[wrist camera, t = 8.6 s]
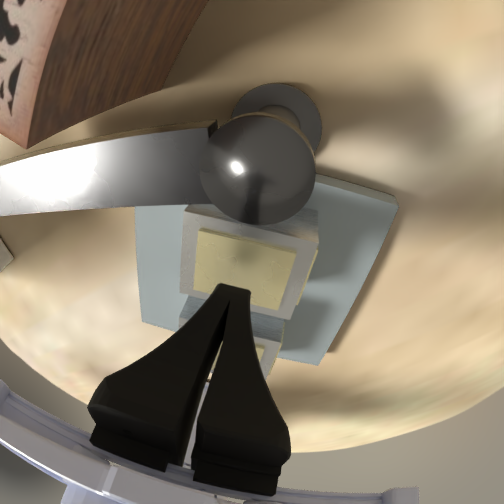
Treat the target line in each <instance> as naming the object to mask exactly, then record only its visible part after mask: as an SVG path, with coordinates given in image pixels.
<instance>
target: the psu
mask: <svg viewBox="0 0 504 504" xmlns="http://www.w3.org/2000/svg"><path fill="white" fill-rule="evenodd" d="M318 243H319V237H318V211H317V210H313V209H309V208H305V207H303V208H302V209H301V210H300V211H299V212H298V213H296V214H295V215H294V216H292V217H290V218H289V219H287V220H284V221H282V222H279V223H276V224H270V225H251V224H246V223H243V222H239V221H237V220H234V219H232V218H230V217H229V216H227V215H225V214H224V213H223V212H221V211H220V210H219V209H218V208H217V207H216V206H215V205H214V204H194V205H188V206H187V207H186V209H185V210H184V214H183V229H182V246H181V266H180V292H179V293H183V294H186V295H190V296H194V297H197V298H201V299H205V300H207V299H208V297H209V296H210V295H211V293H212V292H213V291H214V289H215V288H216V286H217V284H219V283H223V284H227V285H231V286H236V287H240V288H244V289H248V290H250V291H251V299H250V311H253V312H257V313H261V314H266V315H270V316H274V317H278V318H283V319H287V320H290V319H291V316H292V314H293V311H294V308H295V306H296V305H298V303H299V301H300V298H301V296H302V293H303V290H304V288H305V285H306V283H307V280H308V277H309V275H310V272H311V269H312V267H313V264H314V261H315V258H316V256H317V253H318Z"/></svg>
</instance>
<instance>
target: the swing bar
mask: <svg viewBox="0 0 504 504" xmlns="http://www.w3.org/2000/svg"><path fill="white" fill-rule="evenodd" d="M315 177H316V169H315V157H314V153H313V150H312V147H311V145H310V143H309V141H308V139H307V138H306V136H305V135H304V133H303V132H302V131H301V130H300V129H299V128H298V127H297V126H295V125H294V124H293V123H292V122H290V121H288V120H287V119H285V118H283V117H280V116H278V115H275V114H271V113H265V112H252V113H246V114H242V115H239V116H236V117H234V118H232V119H230V120H229V121H227V122H226V123H225V124H223V125H222V126H221V127H220V128H219V129H218V126H217V120H209V121H199V122H189V123H180V124H172V125H164V126H157V127H150V128H144V129H137V130H131V131H125V132H119V133H114V134H109V135H103V136H98V137H93V138H89V139H84V140H79V141H75V142H71V143H66V144H62V145H58V146H54V147H50V148H46V149H42V150H39V151H35V152H31V153H28V154H24V155H21V156H17V157H14V158H11V159H8V160H4V161H1V162H0V216H8V215H19V214H30V213H42V212H54V211H67V210H82V209H98V208H116V207H136V206H161V205H194V204H214V205H215V206H216V207H217V208H218V209H219V210H220V211H221V212H223V213H224V214H225V215H227V216H229V217H230V218H232V219H234V220H237V221H239V222H243V223H246V224H251V225H270V224H276V223H279V222H282V221H284V220H287V219H289V218H290V217H292V216H294V215H295V214H296V213H298V212H299V211H300V210H301V209H302V208H303V207H304V206H305V204H306V203H307V202H308V200H309V198H310V196H311V194H312V192H313V189H314V185H315Z"/></svg>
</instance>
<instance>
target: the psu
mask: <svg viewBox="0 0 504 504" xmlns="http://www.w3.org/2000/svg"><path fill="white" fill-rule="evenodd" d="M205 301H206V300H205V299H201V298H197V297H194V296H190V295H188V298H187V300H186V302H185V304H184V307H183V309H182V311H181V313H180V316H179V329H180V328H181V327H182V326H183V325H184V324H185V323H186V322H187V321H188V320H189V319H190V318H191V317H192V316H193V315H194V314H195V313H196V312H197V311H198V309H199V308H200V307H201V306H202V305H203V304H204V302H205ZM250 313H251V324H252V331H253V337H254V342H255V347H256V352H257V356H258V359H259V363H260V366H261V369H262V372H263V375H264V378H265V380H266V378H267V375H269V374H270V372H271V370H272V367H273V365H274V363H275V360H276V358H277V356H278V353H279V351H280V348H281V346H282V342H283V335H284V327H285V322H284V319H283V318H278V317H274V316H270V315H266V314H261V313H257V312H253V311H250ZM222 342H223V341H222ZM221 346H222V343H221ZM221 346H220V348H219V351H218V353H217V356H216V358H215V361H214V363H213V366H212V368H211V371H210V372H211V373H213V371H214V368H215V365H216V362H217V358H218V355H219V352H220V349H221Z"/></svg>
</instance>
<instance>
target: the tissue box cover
mask: <svg viewBox="0 0 504 504" xmlns="http://www.w3.org/2000/svg"><path fill="white" fill-rule="evenodd" d="M207 2H208V0H0V133H1V134H2V135H4V136H5V137H7V138H9V139H10V140H12V141H13V142H15V143H17V144H18V145H20V146H21V147H23V148H25V149H28V148H30V147H32V146H34V145H35V144H37V143H39V142H41V141H43V140H45V139H47V138H49V137H50V136H52V135H54V134H56V133H58V132H60V131H62V130H64V129H66V128H69V127H71V126H73V125H75V124H77V123H79V122H81V121H83V120H86V119H88V118H90V117H92V116H95V115H97V114H99V113H102V112H104V111H106V110H109V109H111V108H114V107H116V106H119V105H121V104H124V103H126V102H129V101H132V100H134V99H137V98H140V97H142V96H145V95H148V94H151V93H154V92H157V91H160V90H161V88H162V86H163V84H164V82H165V80H166V78H167V76H168V74H169V72H170V69H171V67H172V65H173V63H174V61H175V59H176V58H177V56H178V54H179V52H180V50H181V48H182V46H183V44H184V42H185V40H186V39H187V37H188V35H189V33H190V31H191V29H192V28H193V26H194V24H195V22H196V21H197V19H198V17H199V15H200V14H201V12H202V10H203V9H204V7H205V5H206V4H207Z"/></svg>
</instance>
